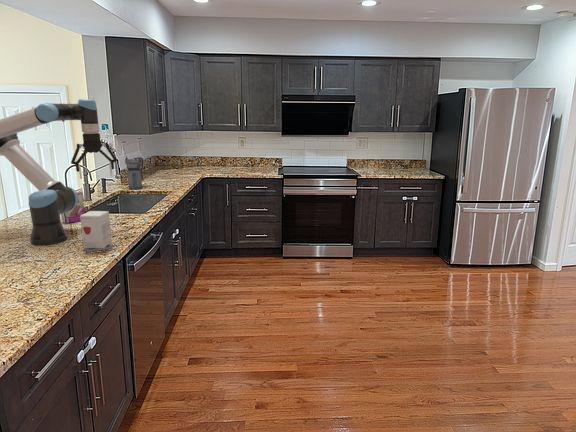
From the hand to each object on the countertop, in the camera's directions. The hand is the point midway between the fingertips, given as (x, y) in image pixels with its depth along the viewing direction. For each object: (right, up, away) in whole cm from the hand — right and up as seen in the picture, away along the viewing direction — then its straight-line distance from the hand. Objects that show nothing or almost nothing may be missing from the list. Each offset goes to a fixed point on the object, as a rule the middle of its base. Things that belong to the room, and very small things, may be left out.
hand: (96, 177), depth 201 cm
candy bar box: (-26, -22, +29) cm, 44 cm away
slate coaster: (+8, -34, -16) cm, 38 cm away
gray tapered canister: (-25, +2, +122) cm, 125 cm away
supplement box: (+8, -32, -16) cm, 37 cm away
